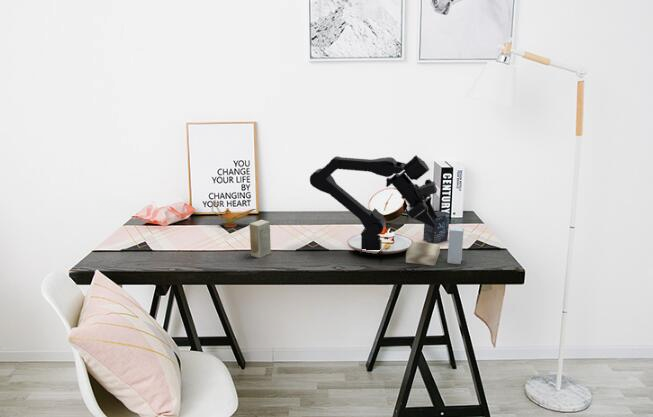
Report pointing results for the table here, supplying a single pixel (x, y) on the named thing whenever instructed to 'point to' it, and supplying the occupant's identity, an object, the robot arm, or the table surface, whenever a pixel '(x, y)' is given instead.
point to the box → (437, 229)
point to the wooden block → (423, 253)
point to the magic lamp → (231, 216)
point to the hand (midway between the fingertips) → (435, 222)
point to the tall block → (455, 245)
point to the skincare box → (260, 238)
